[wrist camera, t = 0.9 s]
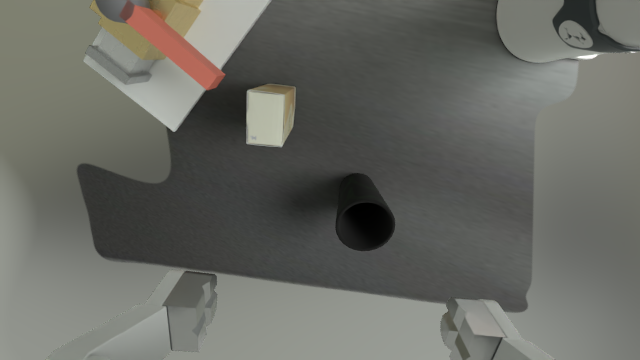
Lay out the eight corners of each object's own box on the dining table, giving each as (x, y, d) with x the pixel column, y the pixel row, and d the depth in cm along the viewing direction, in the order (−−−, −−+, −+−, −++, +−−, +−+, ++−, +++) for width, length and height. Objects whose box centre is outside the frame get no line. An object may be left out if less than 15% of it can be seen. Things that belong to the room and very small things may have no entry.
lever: (124, -26, 33) (105, -34, 30) (230, 68, 36) (222, 69, 33) (107, 6, 34) (87, 1, 31) (211, 93, 37) (201, 97, 34)
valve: (181, -71, 37) (146, -101, 30) (227, -26, 39) (205, -45, 32) (110, 49, 43) (67, 48, 36) (154, 84, 44) (121, 90, 37)
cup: (342, 161, 49) (346, 192, 38) (387, 174, 49) (404, 209, 38) (327, 202, 51) (328, 243, 40) (370, 214, 52) (382, 257, 41)
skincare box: (293, 127, 47) (282, 150, 35) (265, 124, 47) (245, 146, 35) (296, 84, 44) (285, 93, 33) (266, 80, 44) (245, 89, 33)
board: (176, -98, 37) (173, -101, 36) (273, -2, 40) (272, -3, 40) (87, 60, 44) (82, 61, 43) (176, 130, 47) (173, 131, 47)
